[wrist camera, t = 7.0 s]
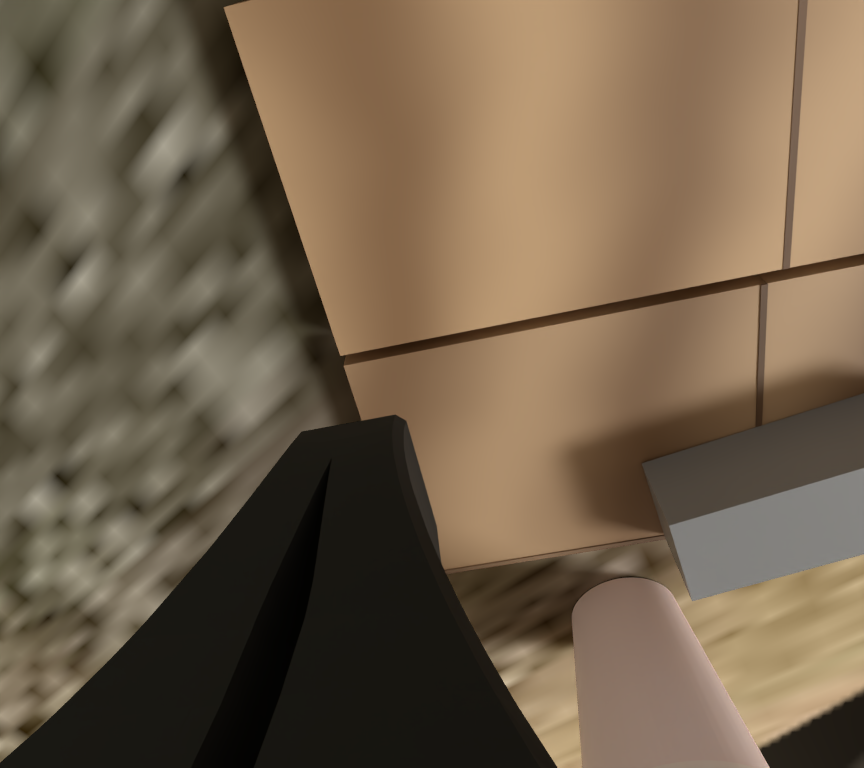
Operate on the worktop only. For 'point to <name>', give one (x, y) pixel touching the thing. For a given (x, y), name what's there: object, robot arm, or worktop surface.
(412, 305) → the board
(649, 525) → the laid strip
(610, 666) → the smoothie
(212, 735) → the robot arm
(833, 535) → the block
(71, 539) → the worktop surface
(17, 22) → the worktop surface
